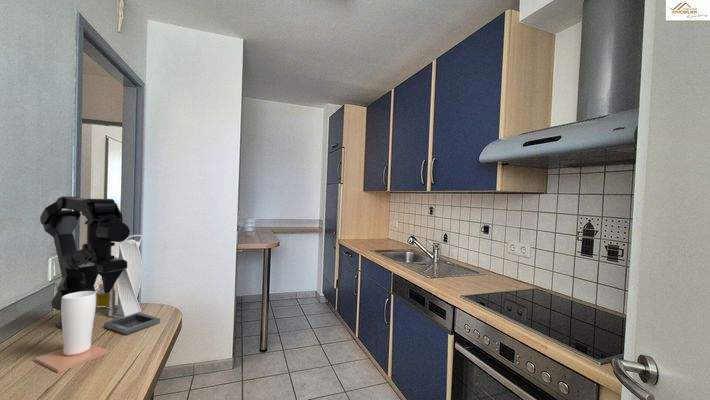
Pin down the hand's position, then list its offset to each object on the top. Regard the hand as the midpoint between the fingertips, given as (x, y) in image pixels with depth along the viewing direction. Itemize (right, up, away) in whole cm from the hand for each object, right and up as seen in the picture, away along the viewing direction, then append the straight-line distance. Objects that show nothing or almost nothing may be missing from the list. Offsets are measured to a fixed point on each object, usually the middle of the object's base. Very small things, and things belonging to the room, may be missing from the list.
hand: (98, 290), depth 90 cm
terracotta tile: (+5, -13, -13) cm, 19 cm away
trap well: (+6, -13, +6) cm, 16 cm away
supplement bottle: (-14, -13, +20) cm, 28 cm away
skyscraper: (-3, -13, +16) cm, 21 cm away
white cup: (+5, -13, -12) cm, 18 cm away
